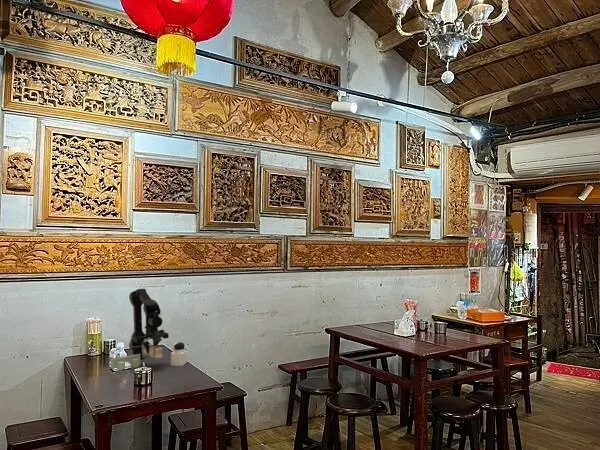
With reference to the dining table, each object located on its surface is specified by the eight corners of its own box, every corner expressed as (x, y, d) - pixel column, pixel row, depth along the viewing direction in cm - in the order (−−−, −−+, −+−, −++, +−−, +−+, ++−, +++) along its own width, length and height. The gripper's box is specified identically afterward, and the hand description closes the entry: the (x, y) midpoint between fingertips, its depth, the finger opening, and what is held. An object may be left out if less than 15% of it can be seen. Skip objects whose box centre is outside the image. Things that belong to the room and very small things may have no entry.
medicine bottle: (187, 362, 277) (187, 341, 277) (182, 366, 270) (182, 344, 270) (175, 362, 278) (175, 341, 278) (170, 365, 271) (170, 344, 271)
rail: (141, 352, 274) (141, 343, 274) (147, 351, 276) (147, 342, 276) (156, 358, 260) (156, 348, 260) (162, 357, 263) (162, 347, 263)
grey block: (110, 369, 265) (110, 358, 265) (138, 363, 276) (138, 353, 276) (114, 371, 261) (114, 360, 261) (143, 365, 272) (143, 354, 272)
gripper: (141, 329, 257) (141, 358, 256) (173, 324, 269) (173, 352, 269) (132, 326, 265) (132, 354, 265) (163, 321, 278) (164, 349, 277)
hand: (151, 352), depth 269 cm, fingers closed on rail, 3 cm apart
